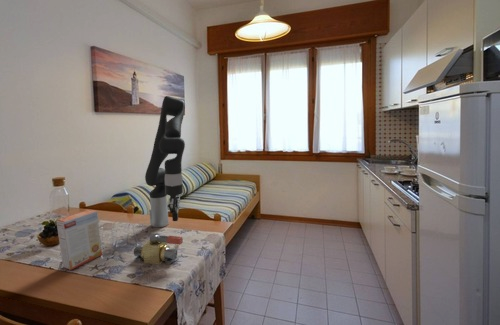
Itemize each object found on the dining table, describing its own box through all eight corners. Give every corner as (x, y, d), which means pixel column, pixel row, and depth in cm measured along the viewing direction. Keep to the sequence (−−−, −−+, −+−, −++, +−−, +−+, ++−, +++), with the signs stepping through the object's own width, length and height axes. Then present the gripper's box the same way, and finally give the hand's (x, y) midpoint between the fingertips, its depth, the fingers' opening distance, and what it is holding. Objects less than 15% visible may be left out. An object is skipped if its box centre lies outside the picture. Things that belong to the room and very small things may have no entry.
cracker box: (94, 252, 122) (89, 209, 119) (102, 255, 119) (98, 210, 116) (61, 267, 109) (55, 219, 106) (70, 270, 107) (64, 221, 104)
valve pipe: (132, 262, 113) (130, 243, 112) (142, 254, 120) (140, 236, 118) (171, 265, 110) (170, 246, 108) (179, 256, 116) (178, 239, 115)
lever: (147, 242, 112) (147, 237, 112) (153, 238, 116) (153, 233, 115) (178, 245, 108) (178, 240, 108) (183, 241, 112) (183, 236, 112)
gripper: (168, 179, 122) (170, 215, 125) (161, 186, 109) (163, 226, 112) (185, 179, 123) (186, 215, 125) (179, 186, 110) (181, 226, 112)
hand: (175, 220), depth 119 cm, fingers closed
